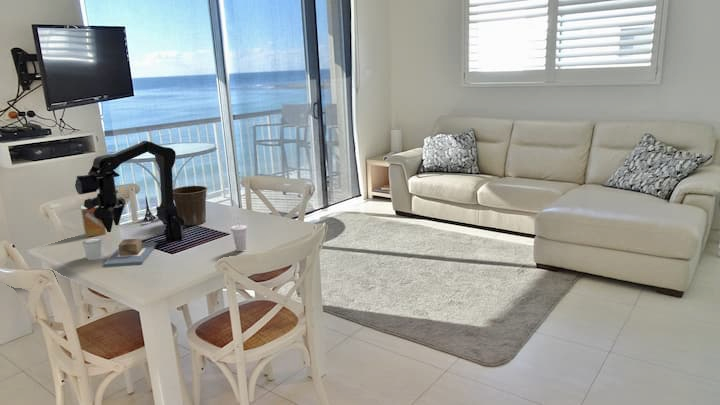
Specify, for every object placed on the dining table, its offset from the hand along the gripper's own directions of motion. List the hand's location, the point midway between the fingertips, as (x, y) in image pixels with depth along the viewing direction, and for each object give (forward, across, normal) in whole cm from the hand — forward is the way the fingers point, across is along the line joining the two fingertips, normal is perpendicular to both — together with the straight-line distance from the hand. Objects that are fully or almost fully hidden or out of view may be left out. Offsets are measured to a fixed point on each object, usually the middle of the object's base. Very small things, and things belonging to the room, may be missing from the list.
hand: (113, 228), depth 202 cm
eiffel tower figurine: (+12, -48, +1) cm, 50 cm away
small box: (+12, -32, -19) cm, 39 cm away
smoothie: (+11, +4, +48) cm, 50 cm away
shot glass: (+12, -1, -8) cm, 15 cm away
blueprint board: (+11, 0, +6) cm, 13 cm away
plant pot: (+11, -40, +22) cm, 47 cm away
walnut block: (+10, 0, +6) cm, 12 cm away
